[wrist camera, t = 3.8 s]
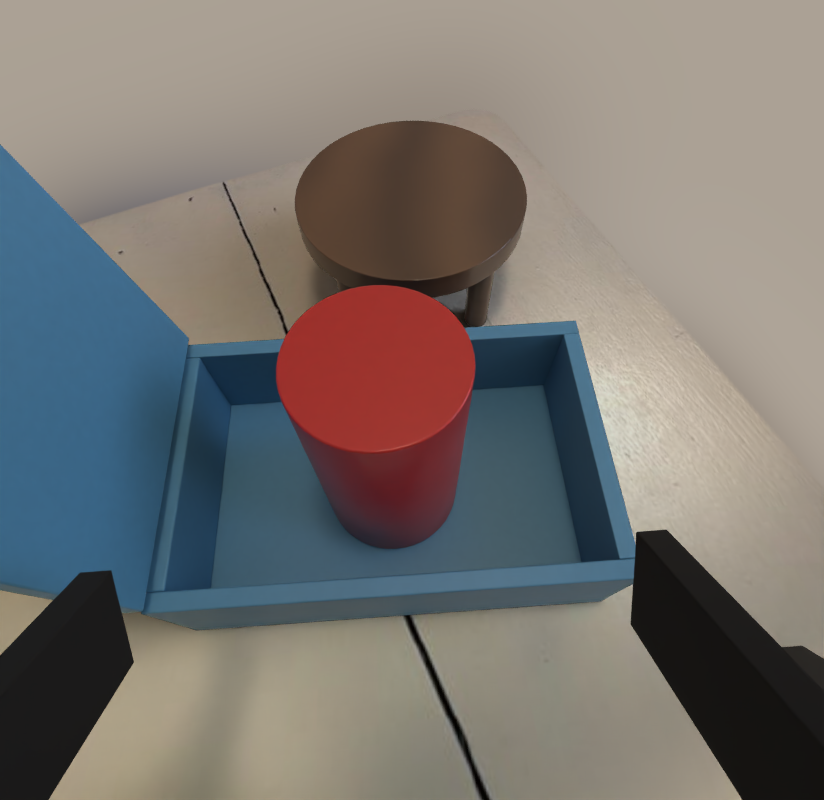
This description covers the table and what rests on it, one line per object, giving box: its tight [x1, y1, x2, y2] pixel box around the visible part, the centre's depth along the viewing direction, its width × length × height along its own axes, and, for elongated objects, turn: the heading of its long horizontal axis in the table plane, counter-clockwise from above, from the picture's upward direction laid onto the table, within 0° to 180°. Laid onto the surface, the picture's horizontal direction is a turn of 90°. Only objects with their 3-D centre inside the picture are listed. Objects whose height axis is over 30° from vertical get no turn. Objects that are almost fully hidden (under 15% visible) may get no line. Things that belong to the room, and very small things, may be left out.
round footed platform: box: [295, 121, 527, 327], centre depth 33 cm, size 13×13×7 cm
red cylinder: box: [276, 285, 476, 549], centre depth 23 cm, size 7×7×12 cm
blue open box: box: [141, 321, 636, 630], centre depth 26 cm, size 20×13×6 cm, turn 94°
